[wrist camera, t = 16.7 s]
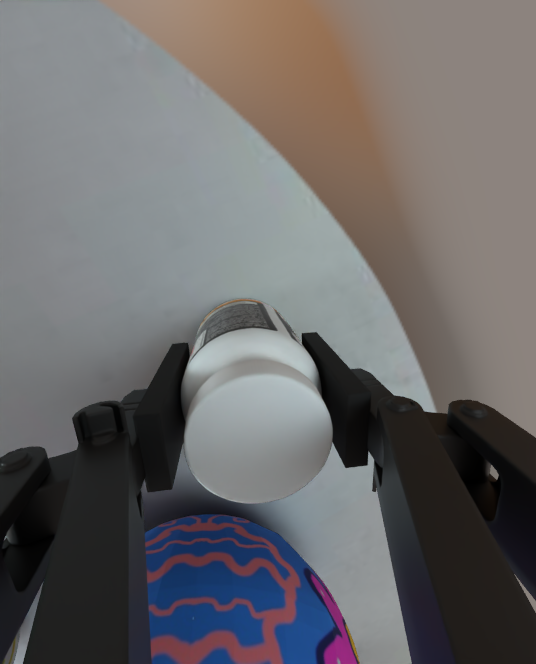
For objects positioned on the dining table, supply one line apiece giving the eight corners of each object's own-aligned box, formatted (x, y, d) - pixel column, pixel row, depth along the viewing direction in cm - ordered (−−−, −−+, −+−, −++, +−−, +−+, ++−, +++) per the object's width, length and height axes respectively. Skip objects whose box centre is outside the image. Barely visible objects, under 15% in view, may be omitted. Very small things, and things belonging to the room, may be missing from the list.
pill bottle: (185, 372, 19) (142, 503, 10) (212, 283, 18) (191, 333, 8) (273, 395, 20) (310, 531, 11) (304, 312, 19) (377, 386, 9)
